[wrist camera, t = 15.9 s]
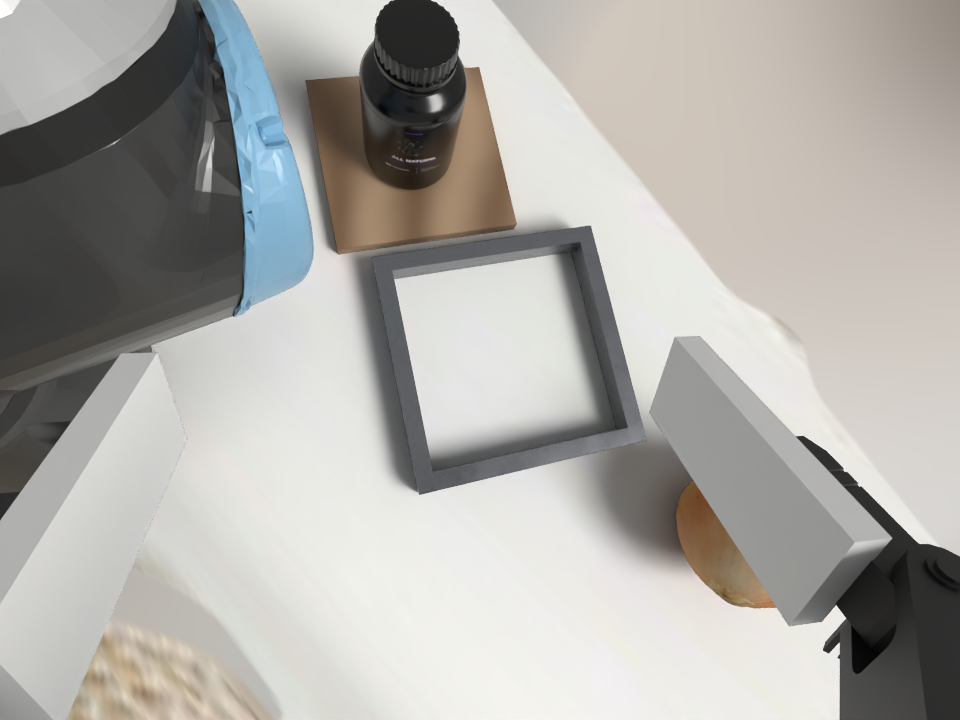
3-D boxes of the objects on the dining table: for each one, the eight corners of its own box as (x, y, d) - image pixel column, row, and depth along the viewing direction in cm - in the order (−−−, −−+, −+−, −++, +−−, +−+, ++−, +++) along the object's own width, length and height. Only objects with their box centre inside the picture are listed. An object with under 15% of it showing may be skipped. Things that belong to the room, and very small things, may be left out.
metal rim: (417, 492, 37) (419, 494, 35) (373, 266, 39) (372, 257, 37) (634, 440, 40) (646, 440, 38) (581, 235, 42) (590, 225, 40)
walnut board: (338, 254, 39) (337, 249, 38) (307, 89, 41) (305, 80, 40) (513, 229, 42) (516, 224, 41) (477, 75, 43) (479, 67, 42)
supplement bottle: (402, 210, 39) (405, 108, 28) (346, 142, 39) (326, 12, 28) (470, 163, 41) (500, 48, 29) (416, 98, 41) (425, -41, 29)
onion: (636, 565, 38) (717, 604, 29) (670, 440, 41) (757, 436, 31) (749, 607, 39) (865, 658, 30) (776, 482, 41) (894, 491, 32)
